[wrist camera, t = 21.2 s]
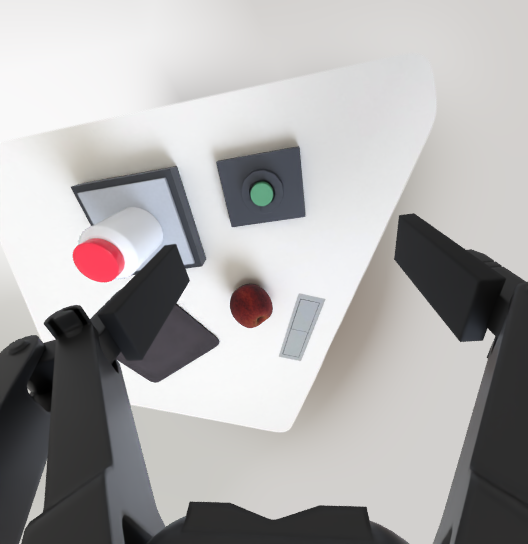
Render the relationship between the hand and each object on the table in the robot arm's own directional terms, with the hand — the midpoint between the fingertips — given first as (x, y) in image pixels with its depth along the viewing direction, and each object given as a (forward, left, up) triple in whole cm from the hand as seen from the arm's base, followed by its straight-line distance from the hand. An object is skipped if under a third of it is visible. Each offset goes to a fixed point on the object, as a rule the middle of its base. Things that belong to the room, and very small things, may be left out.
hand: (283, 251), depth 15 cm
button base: (+2, -2, -26) cm, 27 cm away
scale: (+12, -20, -26) cm, 36 cm away
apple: (+22, 0, -27) cm, 35 cm away
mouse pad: (+40, -20, -26) cm, 52 cm away
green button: (+2, -2, -24) cm, 24 cm away
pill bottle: (+12, -20, -23) cm, 33 cm away
